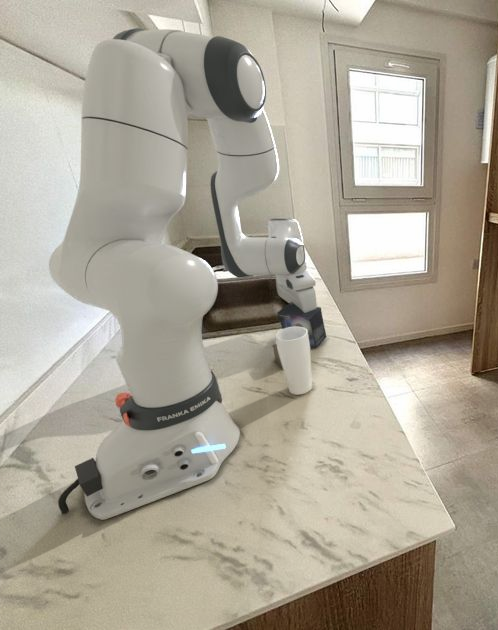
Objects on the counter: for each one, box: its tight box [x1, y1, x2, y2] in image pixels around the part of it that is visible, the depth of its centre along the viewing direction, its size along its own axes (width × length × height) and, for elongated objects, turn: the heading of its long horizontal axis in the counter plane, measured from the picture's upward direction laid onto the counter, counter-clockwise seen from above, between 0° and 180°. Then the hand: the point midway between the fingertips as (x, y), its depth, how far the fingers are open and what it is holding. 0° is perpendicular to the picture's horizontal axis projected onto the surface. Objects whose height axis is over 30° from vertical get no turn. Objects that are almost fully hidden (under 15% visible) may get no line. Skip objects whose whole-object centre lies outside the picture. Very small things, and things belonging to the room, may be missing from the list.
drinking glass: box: [274, 326, 313, 396], centre depth 75 cm, size 7×7×15 cm
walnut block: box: [272, 343, 283, 369], centre depth 87 cm, size 5×5×5 cm
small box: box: [277, 303, 327, 349], centre depth 96 cm, size 11×6×10 cm, turn 73°
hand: (298, 317), depth 102 cm, fingers closed
